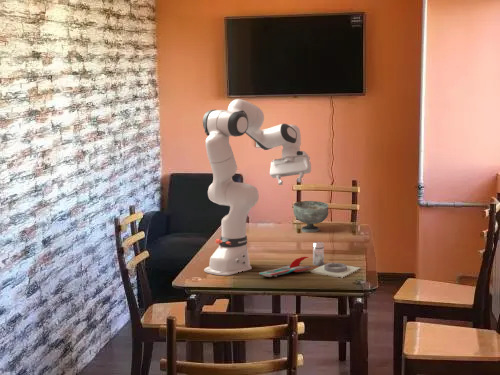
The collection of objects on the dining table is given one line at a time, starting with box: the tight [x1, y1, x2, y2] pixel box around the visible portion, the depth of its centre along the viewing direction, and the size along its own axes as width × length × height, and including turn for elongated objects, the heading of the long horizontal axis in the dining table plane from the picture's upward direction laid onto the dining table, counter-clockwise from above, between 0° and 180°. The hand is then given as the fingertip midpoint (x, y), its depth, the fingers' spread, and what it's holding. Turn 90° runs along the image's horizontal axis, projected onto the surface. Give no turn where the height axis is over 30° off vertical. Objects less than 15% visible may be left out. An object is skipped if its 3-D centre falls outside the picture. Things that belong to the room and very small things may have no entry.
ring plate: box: [310, 262, 361, 279], centre depth 321 cm, size 16×16×2 cm
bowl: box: [292, 200, 330, 233], centre depth 398 cm, size 20×19×15 cm
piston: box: [312, 241, 325, 267], centre depth 331 cm, size 5×5×10 cm
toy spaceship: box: [257, 256, 318, 278], centre depth 317 cm, size 27×11×5 cm, turn 128°
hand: (289, 183), depth 343 cm, fingers open, 8 cm apart
